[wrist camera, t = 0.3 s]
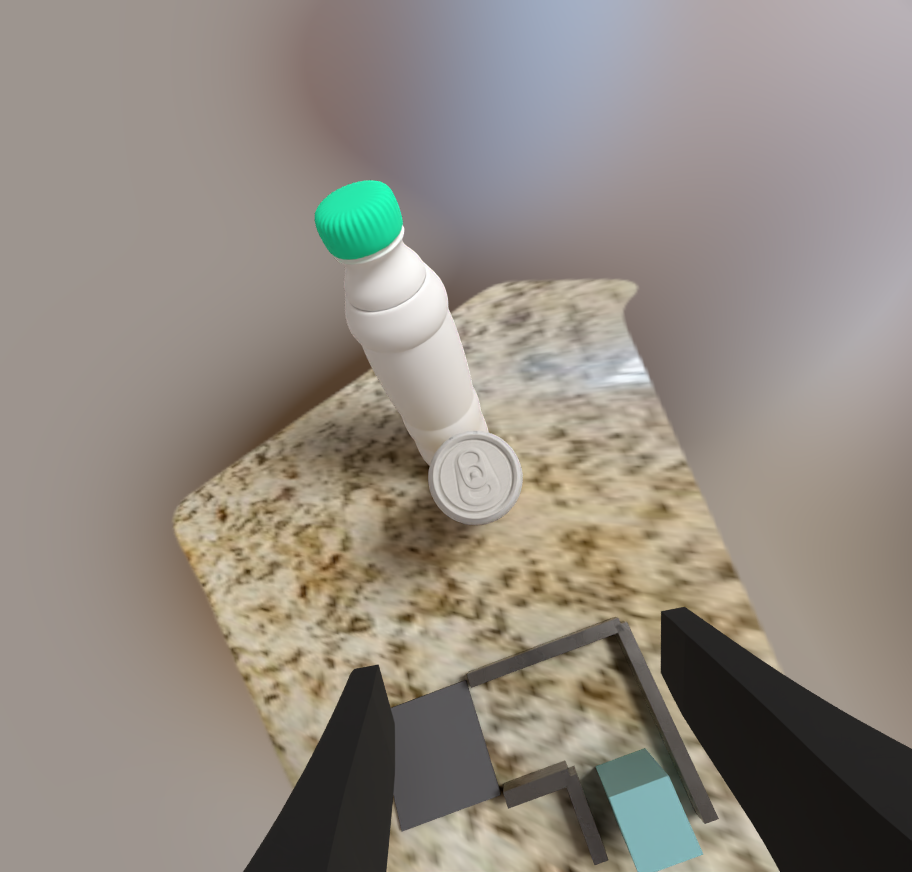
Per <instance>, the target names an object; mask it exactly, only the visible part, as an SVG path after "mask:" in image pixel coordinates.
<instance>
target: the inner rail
mask: <svg viewBox="0 0 912 872" xmlns="http://www.w3.org/2000/svg"><path fill="white" fill-rule="evenodd" d="M565 787H567V790H568V793H569V795H570V798H571V801H572V804H573V807H574V809H575V812H576V815H577V818H578V820H579V823H580V826H581V829H582V832H583V834H584V837H585V840H586V843H587V846H588V848H589V851H590V854H591V857H592V859H593V862H594V865H597V864H599V863H602V862H605V861H608V857H607V854H606V851H605V848H604V845H603V842H602V840H601V837H600V834H599V832H598V829H597V826H596V823H595V821H594V818H593V815H592V813H591V810H590V807H589V805H588V802H587V799H586V797H585V794H584V791H583V788H582V786H581V783H580V780H579V778H578V775H577V772H576V770H575V767H574V766H572V767H570V768H568V767H567V764H566V761H563V762H560V763H557V764H554V765H552V766H549V767H546V768H544V769H541V770H538V771H536V772H533V773H530V774H527V775H525V776H522V777H519V778H517V779H514V780H511V781H508V782H506V783H504V789H503V794H504V797H505V800H506V803H507V807H508V808H511V807H514V806H517V805H519V804H522V803H525V802H527V801H530V800H533V799H536V798H538V797H541V796H544V795H546V794H549V793H552V792H555V791H557V790H560V789H563V788H565Z"/></svg>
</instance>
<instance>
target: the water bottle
mask: <svg viewBox="0 0 912 872" xmlns="http://www.w3.org/2000/svg"><path fill="white" fill-rule="evenodd" d="M315 224H316V228H317V231H318V233H319V235H320V237H321V239H322V241H323V243H324V244H325V246H326V248H327V249H328V250H329V252H330V253H331V254H333V257H334V259H335V260H336V261H338V262H339V263H341V264H344V266H345V277H344V290H345V316H346V321H347V324H348V327H349V329H350V331H351V333H352V335H353V336H354V337H355V339H356V340H357V341H358V342H359V343H360V344H361V345H362V347H363V349H364V352H365V354H366V356H367V358H368V360H369V362H370V365H371V367H372V369H373V370H374V372H375V374H376V376H377V378H378V380H379V381H380V383H381V385H382V387H383V388H384V390H385V392H386V394H387V395H388V397H389V398H390V400H391V402H392V403H393V405H394V406H395V408H396V409H397V411H398V412H399V413H400V415H401V416H402V419H403V422H404V425H405V427H406V429H407V431H408V432H409V434H410V435H411V437H412V438H413V439H414V440H415V443H416V445H417V448H418V450H419V452H420V454H421V456H422V457H423V459H424V460H425V461H426V462H427V464H428V465H430V463H431V461H432V458H433V456H434V454H435V452H436V451H437V450H438V448H439V447H440V446H441V445H442V444H443V443H444V442H445V441H446V440H448V439H449V438H451V437H453V436H455V435H457V434H459V433H462V432H467V431H484V432H488V428H487V424H486V422H485V419H484V417H483V414H482V413H481V407H480V402H479V399H478V396H477V394H476V391H475V389H474V388H473V386H472V381H471V376H470V371H469V367H468V363H467V360H466V356H465V353H464V349H463V346H462V343H461V340H460V337H459V334H458V331H457V328H456V326H455V323H454V320H453V318H452V316H451V313H450V311H449V309H448V297H447V293H446V290H445V287H444V285H443V283H442V281H441V280H440V278H439V277H438V276H437V274H436V273H435V272H434V271H433V270H432V269H431V268H430V267H428V266H427V265H426V264H425V263H424V262H423V261H422V260H421V259H420V257H419V256H418V255H417V254H416V253H415V252H414V251H413V250H411V249H410V248H409V247H407V246H406V245H405V244H404V243H403V241H402V238H403V235H404V227H403V221H402V215H401V212H400V208H399V205H398V203H397V200H396V198H395V196H394V194H393V192H392V191H391V189H390V188H389V187H388V186H387V185H386V184H384V183H382V182H379V181H371V180H369V181H362V182H360V181H359V182H357V183H352V184H348V185H347V186H343V187H342V188H340V189H337V190H336V191H335V192H332V193H331V194H330V195H328V196H327V198H325V199H324V200H323V201H322V202H321V203H320V205H319V206H318V208H317V210H316V212H315ZM488 433H489V432H488Z"/></svg>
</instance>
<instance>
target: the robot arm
mask: <svg viewBox="0 0 912 872" xmlns="http://www.w3.org/2000/svg"><path fill="white" fill-rule="evenodd" d="M661 674H662V676H663V678H664V680H665V682H666V684H667V686H668V688H669V690H670V692H671V694H672V696H673V698H674V700H675V702H676V704H677V706H678V708H679V710H680V712H681V713H682V715H683V717H684V719H685V720H686V722H687V723H688V725H689V727H690V728H691V730H692V731H693V733H694V734H695V736H696V737H697V739H698V741H699V742H700V744H701V745H702V747H703V748H704V750H705V751H706V753H707V755H708V756H709V758H710V759H711V761H712V762H713V764H714V765H715V767H716V768H717V770H718V771H719V773H720V775H721V776H722V778H723V779H724V781H725V782H726V784H727V785H728V787H729V788H730V790H731V791H732V793H733V795H734V796H735V798H736V799H737V801H738V802H739V804H740V805H741V807H742V808H743V810H744V811H745V813H746V815H747V816H748V818H749V819H750V821H751V822H752V824H753V826H754V827H755V829H756V831H757V832H758V834H759V836H760V837H761V839H762V840H763V842H764V844H765V845H766V847H767V849H768V851H769V853H770V854H771V856H772V858H773V860H774V862H775V863H776V865H777V867H778V869H779V871H780V872H912V749H911V748H909V747H907V746H905V745H903V744H901V743H900V742H898V741H896V740H894V739H892V738H890V737H889V736H887V735H885V734H883V733H881V732H879V731H878V730H876V729H874V728H872V727H870V726H868V725H867V724H865V723H863V722H861V721H859V720H857V719H856V718H854V717H852V716H851V715H849V714H847V713H845V712H843V711H842V710H840V709H838V708H837V707H835V706H833V705H832V704H830V703H828V702H827V701H825V700H823V699H822V698H820V697H819V696H817V695H815V694H814V693H812V692H810V691H809V690H807V689H805V688H804V687H802V686H801V685H799V684H797V683H796V682H794V681H793V680H791V679H789V678H788V677H786V676H785V675H783V674H782V673H780V672H779V671H777V670H776V669H774V668H773V667H771V666H770V665H768V664H767V663H765V662H764V661H762V660H761V659H759V658H758V657H756V656H755V655H753V654H752V653H750V652H749V651H747V650H746V649H744V648H743V647H741V646H740V645H739V644H737V643H736V642H734V641H733V640H731V639H730V638H728V637H727V636H726V635H724V634H723V633H721V632H720V631H718V630H717V629H716V628H714V627H713V626H711V625H710V624H709V623H707V622H706V621H704V620H703V619H701V618H700V617H699V616H697V615H696V614H694V613H693V612H691V611H690V610H688V609H687V608H686V607H682V608H676V609H671V610H666V611H661ZM394 780H395V722H394V719H393V715H392V712H391V708H390V704H389V701H388V697H387V693H386V690H385V686H384V683H383V679H382V675H381V672H380V668H379V665H373V666H368V667H363V668H357V669H354V670H353V671H352V672H351V674H350V676H349V679H348V681H347V683H346V686H345V688H344V690H343V692H342V695H341V697H340V699H339V701H338V703H337V706H336V708H335V710H334V712H333V714H332V716H331V718H330V720H329V723H328V725H327V727H326V729H325V731H324V733H323V735H322V737H321V739H320V741H319V743H318V745H317V746H316V748H315V750H314V752H313V754H312V756H311V758H310V760H309V762H308V764H307V766H306V768H305V770H304V771H303V773H302V775H301V777H300V779H299V780H298V782H297V784H296V786H295V787H294V789H293V791H292V793H291V795H290V796H289V798H288V800H287V802H286V804H285V805H284V807H283V809H282V811H281V812H280V814H279V816H278V817H277V819H276V821H275V822H274V824H273V826H272V827H271V829H270V831H269V832H268V834H267V835H266V837H265V839H264V840H263V842H262V843H261V845H260V847H259V848H258V850H257V851H256V853H255V855H254V856H253V857H252V859H251V861H250V863H249V864H248V865H247V867H246V868H245V870H244V871H243V872H386V869H387V858H388V847H389V836H390V825H391V815H392V803H393V792H394Z"/></svg>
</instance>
